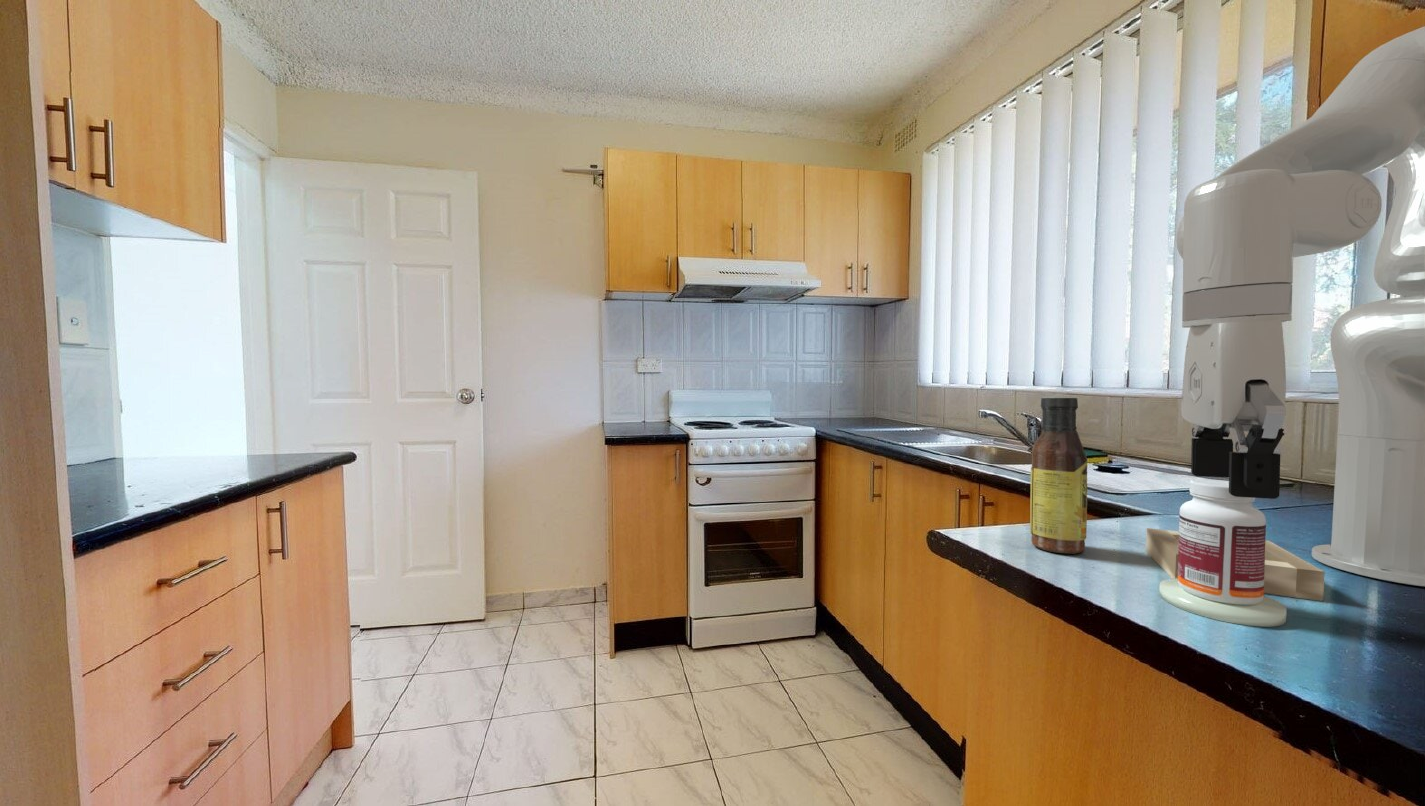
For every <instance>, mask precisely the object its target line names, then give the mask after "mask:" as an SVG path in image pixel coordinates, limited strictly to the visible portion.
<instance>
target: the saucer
mask: <svg viewBox="0 0 1425 806" xmlns="http://www.w3.org/2000/svg"><path fill="white" fill-rule="evenodd" d="M1158 595H1159V596H1160V598H1161V599H1162V600H1163V601H1165V602H1166V603H1168V604H1170V605H1172V606H1174V607H1176V608H1178V609H1180V610H1182V611H1186V612H1188V613H1192V614H1194V615H1198V616H1202V617H1204V618H1208V619H1212V620H1216V621H1220V622H1226V623H1231V624H1237V625H1243V626H1250V627H1267V628H1270V627H1279V626H1283V625H1284V624H1285V623H1286V622H1287V608H1286V606H1285V605H1284V604H1282V603H1281V602H1279V601H1277V600H1275V599H1274V598H1272V597H1270V596H1267V595H1265V594H1264V597H1263V600H1262V602H1261V603H1259V604H1255V605H1236V604H1228V603H1222V602H1216V601H1211V600H1207V599H1204V598H1201V597H1198V596H1195V595H1193V594H1191V593H1189V592H1187V591H1185V590H1183V589H1182V588H1181V587H1180V586H1179V584H1178V578H1175V579H1172V578H1166V579H1163V580H1160V582H1159V589H1158Z"/></svg>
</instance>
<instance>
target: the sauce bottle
mask: <svg viewBox="0 0 1425 806" xmlns="http://www.w3.org/2000/svg"><path fill="white" fill-rule="evenodd" d="M1040 408H1041V411H1042V416H1041V417H1042V418H1041V419H1042V423H1041V424H1042V425H1041V430H1042V431H1041V433H1040V435H1039V437H1038V438H1037V439H1036V440H1035V442H1034V443H1033V445H1032V449H1031V467H1030V498H1029V499H1030V507H1029V508H1030V510H1029V511H1030V512H1029V514H1030V515H1029V517H1030V518H1029V520H1030V522H1029V523H1030V524H1029V525H1030V527H1029V528H1030V529H1029V532H1030V534H1031V536H1030V539H1031V540H1030V541H1031V543H1032V545H1033V546H1034V547H1035V548H1038V549H1040V550H1042V551H1046V552H1050V553H1058V554H1072V555H1074V554H1080V553H1082V552H1083V551H1084V550H1085V548H1086V547H1085V546H1086V542H1085V540H1086V539H1087V526H1088V525H1087V522H1088V521H1087V517H1088V511H1087V510H1088V458H1087V455H1086V453H1085V450H1084V446H1083V443H1082V442H1081V439H1080V435H1079V433H1078V430H1077V428H1078V427H1077V410H1078V408H1079V403H1078V397H1076V396H1075V397H1073V396H1071V397H1067V396H1065V397H1062V396H1056V397H1055V396H1044V397H1041V399H1040Z"/></svg>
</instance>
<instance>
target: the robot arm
mask: <svg viewBox="0 0 1425 806" xmlns="http://www.w3.org/2000/svg"><path fill="white" fill-rule="evenodd" d="M1384 166H1385V168H1386V169H1387V171H1388V174H1390V176H1391V178H1392V181H1393V183H1394V188H1395V192H1394V200H1393V203H1392V206H1391V209H1390V213H1389V216H1388V217H1387V222H1386V224H1385V227H1384V230H1383V233H1382V238H1381V240H1380V243H1379V247H1378V250H1377V253H1376V257H1375V261H1374V270H1373V271H1374V272H1373V277H1374V281H1375V283H1376V284H1377V286H1378V287H1379V288H1380V289H1382V290H1383V291H1384V292H1386V293H1388V294H1391V295H1396V296H1401V297H1395V298H1385V299H1381V300H1380V299H1379V300H1376V301H1371V302H1366V303H1364V304H1360V305H1358V306H1355V307H1353V308H1351V309H1349V310H1347V311H1346V312H1344V313H1343V314H1341V315H1340V317H1338V318H1337V320H1336V321H1335V323H1334V324H1333V326H1332V328H1331V332H1330V350H1331V356H1332V360H1333V364H1334V368H1335V375H1336V380H1337V381H1336V383H1337V391H1338V419H1337V435H1336V436H1337V437H1336V455H1335V456H1336V457H1335V471H1334V473H1335V475H1334V489H1333V491H1334V492H1333V508H1332V524H1331V525H1332V526H1331V542H1330V543H1331V544H1319V545H1315V546H1313V547H1311V556H1312V558H1313V559H1314V560H1316V561H1318V562H1319V563H1321V564H1324V565H1326V566H1328V567H1332V568H1335V569H1337V570H1341V571H1345V572H1348V573H1353V574H1356V575H1359V576H1364V577H1369V578H1373V579H1378V580H1382V581H1387V582H1393V583H1398V584H1404V585H1410V586H1416V587H1417V586H1418V587H1423V588H1424V587H1425V25H1424V26H1422V27H1419V28H1417V29H1414V30H1412V31H1409V32H1407V33H1404V34H1402V35H1400V36H1397V37H1395V38H1393V39H1391V40H1389V41H1387V42H1385V43H1384V44H1381V45H1380V46H1378V47H1376V48H1375V49H1373V50H1372V51H1370V52H1369V53H1368V54H1366V55H1365V56H1363V57H1362V59H1360V60H1359V61H1357V63H1356V65H1355V66H1354V67H1353V68H1352V69H1351V70H1350V71H1349V72H1348V74H1347V75H1346V76H1345V77H1344V78H1343V79H1342V80H1341V82H1340V83H1339V84H1338V85H1337V86H1336V87H1335V89H1334V90H1333V91H1332V92H1331V94H1330V95H1329V96H1328V98H1326V99H1325V101H1324V102H1323V103H1322V104H1321V105H1320V106H1319V107H1318V109H1317V110H1316V111H1315V112H1314V114H1312V116H1310V117H1309V118H1308V119H1306V120H1305V121H1303V122H1301V123H1299V124H1298V125H1295V126H1293V128H1291V129H1288V130H1287V131H1285V132H1283V133H1282V134H1280V135H1279V136H1277V137H1276V138H1274V139H1273V140H1271V141H1269V142H1268V143H1266V144H1264V145H1263V146H1262V147H1260V148H1257V150H1255V151H1253V152H1251V153H1250V154H1248V155H1247V156H1245V157H1243V158H1242V159H1240V160H1239V161H1237V162H1236V163H1234V164H1232V165H1231V166H1229V167H1228V168H1227V169H1226V170H1224V171H1222V172H1221V173H1220V174H1219V175H1217V177H1215V178H1212V179H1210V180H1207V181H1204V182H1203V183H1200V184H1198V185H1196V186H1195V187H1194V188H1193V189H1191V190H1190V191H1189V193H1188V194H1187V196H1186V198H1185V201H1184V207H1183V217H1182V218H1181V221H1180V223H1179V225H1178V228H1177V231H1176V248H1177V251H1178V254H1179V256H1180V257H1181V259H1182V303H1181V304H1182V308H1181V309H1182V315H1181V318H1182V319H1181V321H1182V322H1181V328H1189V331H1188V335H1187V341H1186V346H1185V355H1184V363H1183V364H1184V365H1183V377H1182V378H1183V379H1182V388H1181V403H1180V404H1181V405H1180V415H1181V417H1182V419H1184V420H1185V421H1186V422H1188V423H1190V424H1192V427H1191V437H1192V438H1191V446H1190V447H1191V455H1190V456H1191V458H1190V460H1191V461H1190V462H1191V463H1190V472H1191V474H1192V475H1193V476H1195V477H1207V478H1209V477H1210V478H1228V481H1229V493H1230V494H1231V495H1233V496H1235V497H1250V498H1255V499H1271V500H1274V499H1278V498H1279V496H1280V491H1281V489H1280V487H1281V486H1280V481H1281V480H1280V479H1281V455H1282V453H1283V444H1282V441H1281V440H1282V438H1283V437H1284V436H1285V432H1284V431H1285V429H1284V428H1283V424H1284V421H1285V418H1286V415H1287V407H1286V399H1287V398H1286V397H1287V394H1286V393H1287V392H1286V391H1287V385H1286V384H1287V377H1286V371H1287V370H1286V355H1285V341H1284V339H1285V338H1284V331H1283V323H1284V322H1290V321H1291V322H1292V315H1293V314H1292V312H1293V311H1292V310H1293V307H1292V306H1293V282H1294V281H1293V280H1294V279H1293V277H1294V275H1293V274H1294V258H1298V257H1305V256H1311V255H1316V254H1317V255H1318V254H1322V253H1327V252H1332V251H1336V250H1339V249H1342V248H1343V249H1344V247H1345V248H1346V247H1348V246H1350V245H1352V244H1354V243H1356V242H1358V241H1359V240H1361V239H1363V238H1364V237H1365V236H1366V235H1368V234H1369V232H1371V230H1373V228H1374V227H1375V226H1376V224H1377V222H1378V221H1379V218H1380V216H1381V212H1382V206H1383V204H1382V196H1381V193H1380V190H1379V189H1378V188H1377V186H1376V185H1375V184H1374V182H1373V181H1372V180H1370V179H1369V178H1368V177H1366V175H1367V174H1370V173H1372V172H1374V171H1376V170H1379V169H1381V168H1382V167H1384ZM1402 296H1403V297H1402ZM1245 432H1248V433H1247V435H1246V434H1245ZM1229 436H1230V437H1231V438H1229ZM1234 450H1235V451H1234Z"/></svg>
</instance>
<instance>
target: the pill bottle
mask: <svg viewBox="0 0 1425 806" xmlns="http://www.w3.org/2000/svg"><path fill="white" fill-rule="evenodd" d="M1189 495H1191V496H1192V499H1190V500H1189V501H1188V500H1187V501H1185V502H1184V503H1182V505H1181V506H1180V507H1179V517H1178V518H1179V519H1178V520H1179V522H1178V524H1179V526H1178V531H1179V551H1178V584H1179V586H1180V587H1181V588H1182V589H1183V590H1185V591H1187V592H1189V593H1191V594H1193V595H1195V596H1198V597H1201V598H1204V599H1207V600H1211V601H1216V602H1222V603H1228V604H1236V605H1255V604H1259V603H1261V602H1262V600H1263V597H1264V595H1265V593H1264V573H1265V540H1266V534H1267V533H1266V532H1267V531H1266V530H1267V529H1266V528H1267V519H1266V515H1265V514H1264V512H1262V511H1261V510H1260V509H1258V508H1255V507H1254V506H1253V504H1252V503H1253V502H1255V501H1256V498H1250V497H1235V496H1233V495H1231V494H1230V493H1229V480H1222V479H1205V478H1199V479H1197V478H1196V479H1191V480H1190V481H1189Z"/></svg>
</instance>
